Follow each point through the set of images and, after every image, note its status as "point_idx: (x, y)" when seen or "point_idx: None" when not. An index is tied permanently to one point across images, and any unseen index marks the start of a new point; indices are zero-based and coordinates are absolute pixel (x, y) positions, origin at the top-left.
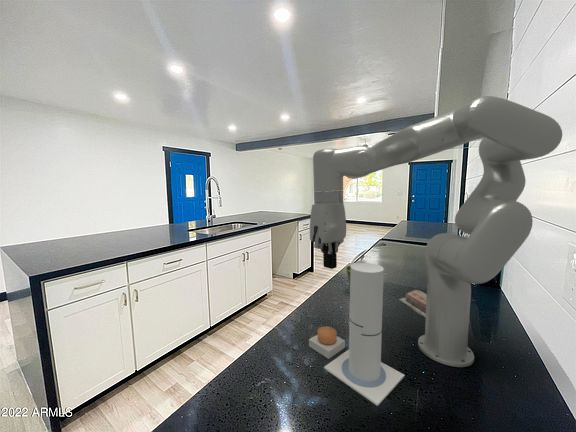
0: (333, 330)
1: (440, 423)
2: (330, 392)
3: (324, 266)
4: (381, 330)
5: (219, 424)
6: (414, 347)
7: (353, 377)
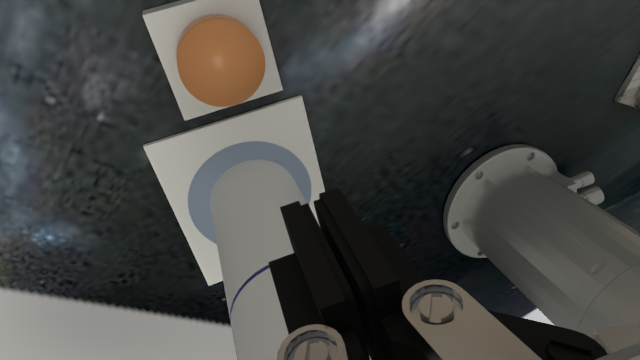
0: (253, 71)
1: None
2: (116, 225)
3: (282, 214)
4: None
5: None
6: (457, 163)
7: (207, 211)
